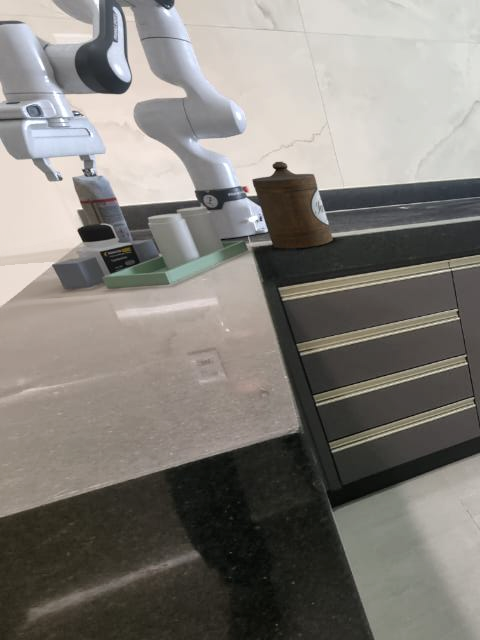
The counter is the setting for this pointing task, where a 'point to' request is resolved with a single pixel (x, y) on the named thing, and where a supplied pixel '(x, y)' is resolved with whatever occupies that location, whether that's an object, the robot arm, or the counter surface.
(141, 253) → the grey box
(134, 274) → the tray
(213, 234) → the white bottle
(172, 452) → the counter surface
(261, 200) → the wooden container
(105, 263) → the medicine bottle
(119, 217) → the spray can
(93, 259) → the grey box
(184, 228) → the white bottle
